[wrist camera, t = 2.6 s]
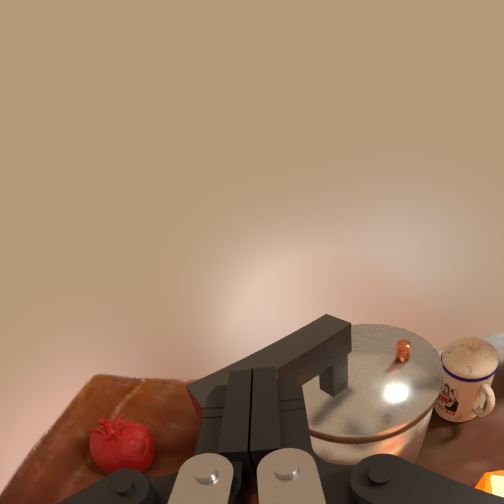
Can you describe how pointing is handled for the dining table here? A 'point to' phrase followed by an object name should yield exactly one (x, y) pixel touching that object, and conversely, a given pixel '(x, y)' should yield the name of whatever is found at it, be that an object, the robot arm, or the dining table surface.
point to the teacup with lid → (467, 380)
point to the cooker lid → (349, 378)
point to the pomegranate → (121, 445)
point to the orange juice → (492, 483)
